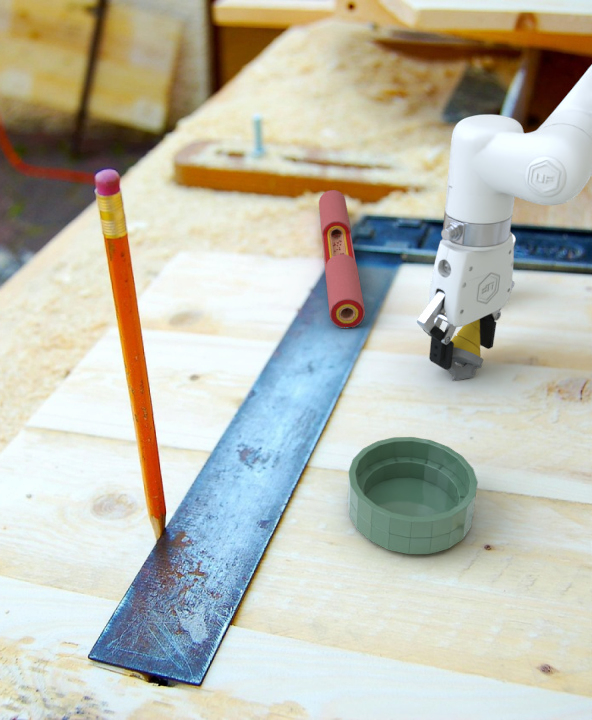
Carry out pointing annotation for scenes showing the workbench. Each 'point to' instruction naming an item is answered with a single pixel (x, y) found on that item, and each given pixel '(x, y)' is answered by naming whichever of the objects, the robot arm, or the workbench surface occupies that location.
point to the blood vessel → (340, 262)
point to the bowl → (411, 495)
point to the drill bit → (466, 351)
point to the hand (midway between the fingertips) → (461, 353)
